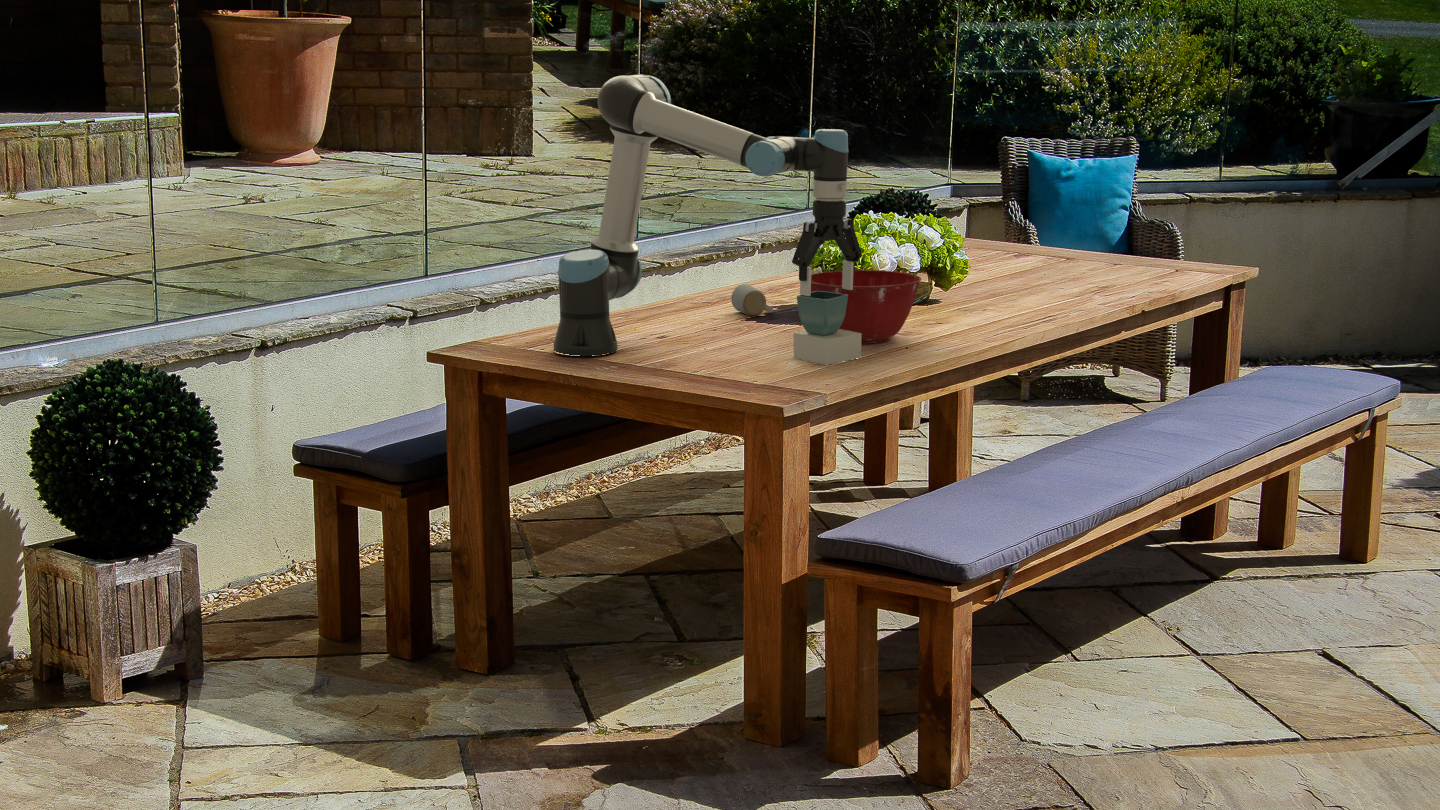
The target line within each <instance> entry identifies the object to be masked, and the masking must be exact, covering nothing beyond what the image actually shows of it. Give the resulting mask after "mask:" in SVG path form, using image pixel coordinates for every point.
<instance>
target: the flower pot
mask: <svg viewBox="0 0 1440 810" xmlns="http://www.w3.org/2000/svg"><path fill="white" fill-rule="evenodd" d="M847 300H848V295H847V294H840V293H832V292H825V291H814V292H811V296H805V295H800V294H798V295H796V303H797V310H798V316H799V321H800V323H801V325H802V327H803V328H804V331H807V333H810V334H818V335H823V336H825V335H828V334H832V333H835V332H837V331H838V329H839V328H840V326H841V325H842V323H843V320H844V318H845V313H846V307H847Z"/></svg>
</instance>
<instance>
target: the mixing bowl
mask: <svg viewBox="0 0 1440 810" xmlns="http://www.w3.org/2000/svg"><path fill="white" fill-rule="evenodd" d="M842 274H843V270H832V271H831V270H830V271H824V272H823V271H821V272H816V273H811V292H814V291H825V292H832V293H840V294H847V295H848V300H847V307H846V313H845V318H844V320H843V323H842V325H841V326H840V328H839V329H842V330H848V331H853V332H858V333H862V334H861V344H875V343H874V342H879V343H882V342H881V341H884V342H887V341H889V340H890V339H891V338H893V337H894V336H896V335H897V334H898V333H899V332H900V331H901V329H902V328H903V326H904V324H905V323H906V320H907V318H908V317H909V316H910V315H909V314H910V312H911V310H912V307H913V305H914V303H915V300H916V296H917V293H918V290H919V286H920V282H921V281H922V277H921V276H918V275H917V274H912V273H908V272H902V271H900V272H899V271H891V270H876V269H875V270H873V269H872V270H871V269H855V273H854V275H853V290H847V289H842ZM888 339H889V340H888ZM886 340H887V341H886Z"/></svg>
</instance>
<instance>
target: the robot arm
mask: <svg viewBox="0 0 1440 810" xmlns="http://www.w3.org/2000/svg"><path fill="white" fill-rule="evenodd" d="M597 109H598V111H599V113H600V115H601V117H602V118H603V119H604V120H605V121H606V122H607V123H608V124H609V125H610V126H609V130H610V131H611V133H612V135H613V136H614V139H613V140H614V141H613V147H612V151H611V159H610V166H609V172H608V175H607V177H608V178H607V182H606V189H605V195H604V202H603V207H602V212H601V213H602V214H601V220H600V226H599V233H598V234H597V235H596V236H595V237H593V238H592V239H591V241H590V243H591V244H590V249H579V250H577V251H575V250H574V251H570V252H567V253H565V254H563V255H562V256H561V257H560V259H559V260H558V270H557V275H558V287H559V288H558V291H559V292H558V293H559V296H558V297H559V323H558V327H557V329H556V330H557V331H556V333H555V337H554V341H553V352H554V351H556V352H559V353H563V354H569V355H580V356H592V355H602V354H607V353H612V352H615V351H616V350H617V349H618V340H617V337H616V334H615V331H614V328H613V325H612V322H611V319H610V301H611V300H614V299H620V298H622V297H625V296H626V295H628V294H629V293H631V292H633V291H634V290H635V289H636V287H637V286H638V285H639V284H640V282H641V278H642V273H643V269H642V267H643V266H642V262H641V261H640V259H639V257H638V255H639V250H640V248H639V246H638V245H637V243H636V242H635V236H636V230H637V225H638V219H639V218H638V217H639V212H640V206H641V202H642V201H641V200H642V195H643V189H644V183H645V177H646V172H647V167H648V160H649V154H650V148H651V144H652V143H653V142H654V141H656V140H657V139H658V138H663V139H666V140H669V141H671V142H675V143H676V144H679V145H682V146H686V147H687V148H691V149H694V150H696V151H699V152H703V153H705V154H708V155H710V156H714V157H716V158H718V159H722V160H725V161H728V162H731V163H732V164H733V163H734V164H735V165H739V166H742V167H744V168H746V169H748V170H749V171H750V172H751V173H752V174H753V175H755V176H759V177H772V176H775V175H777V174H781V173H786V172H794V171H795V172H810V173H811V172H813V187H812V188H813V189H812V197H813V198H814V199H813V201H812V215H813V217H814V221H813V222H808V221H805V222H803V227H802V233H801V236H800V238H799V241H798V243H797V247H796V249H795V252H794V254H793V257H792V259H791V263H792V265H795V266H798V280H799V295H805V296H811V274H812V266H810V265H811V262H812V261H813V259H814V258H815V256H816V254H817V252H818V251H819V249H820V248H821V245H823V244H824V243H825V242H829V241H834V242H835V244H836V246H837V247H838V248H839V250H840V251H841V254H842V255H843V257H844V258H845V260H842V271H843V274H842V289H847V290H853V275H854V273H855V270H856V262H859V260H860V258H862V257H863V253H862V249H861V247H860V243H859V240H858V237H857V234H856V231H855V225H854V223H855V222H854V221H855V220H854V219H852V218H847V217H845V216H846V215H847V201H846V200H845V199H846V197H847V185H848V184H847V183H848V180H847V179H848V161H849V141H848V140H849V137H848V136H849V135H848V132H847V131H846V130H844V129H838V128H837V129H835V128H831V129H829V128H827V129H826V128H821V129H820V128H819V129H817V130H815V132H814V136H813V137H797V136H795V137H794V136H784V135H776V136H767V137H766V136H765V137H764V136H761V135H759V134H756V133H753V132H750V131H748V130H745V129H742V128H739V127H736V126H733V125H730V124H727V123H725V122H721V121H719V120H716V119H713V118H710V117H708V116H705V115H702V114H699V113H696V112H695V111H690V110H689V109H688V110H687V109H685V108H682V107H679V106H676V105H674V104H672V98H671V94H670V91H669V89H668V88H667V86H666V85H665V84H664V83H663V81H662V80H661V79H659V78H657V77H656V76H652V75H648V74H639V73H638V74H633V75H618V76H614V77H612V78H610V79H608V80H607V81H606V82H604V84H603V85H602V86H601V88H600V89H599V92H598V96H597ZM617 351H618V350H617ZM615 353H616V352H615Z"/></svg>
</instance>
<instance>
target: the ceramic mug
mask: <svg viewBox="0 0 1440 810" xmlns="http://www.w3.org/2000/svg"><path fill="white" fill-rule="evenodd" d="M730 299H731V301H730V302H731V305H732V307H733V308H734V309H735V310H736V311H738V312H740V313H742V314H744V315H745V314H746V315H748V316H752V317H753V316H757V315H761V313H762V312H764V311H765V312H768V313H770V314H773V310H774V307H773V306H771V305H768V304H767V298H766V296H765V294H764V293H763V292H762V291H761V290H759V289H758V288H755V287H754V286H753V285H750V284H748V283H747V284H746V283H743V284H740V285H738V286H736V287H735V288H734V290H733V291H732V293H731V298H730Z"/></svg>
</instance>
